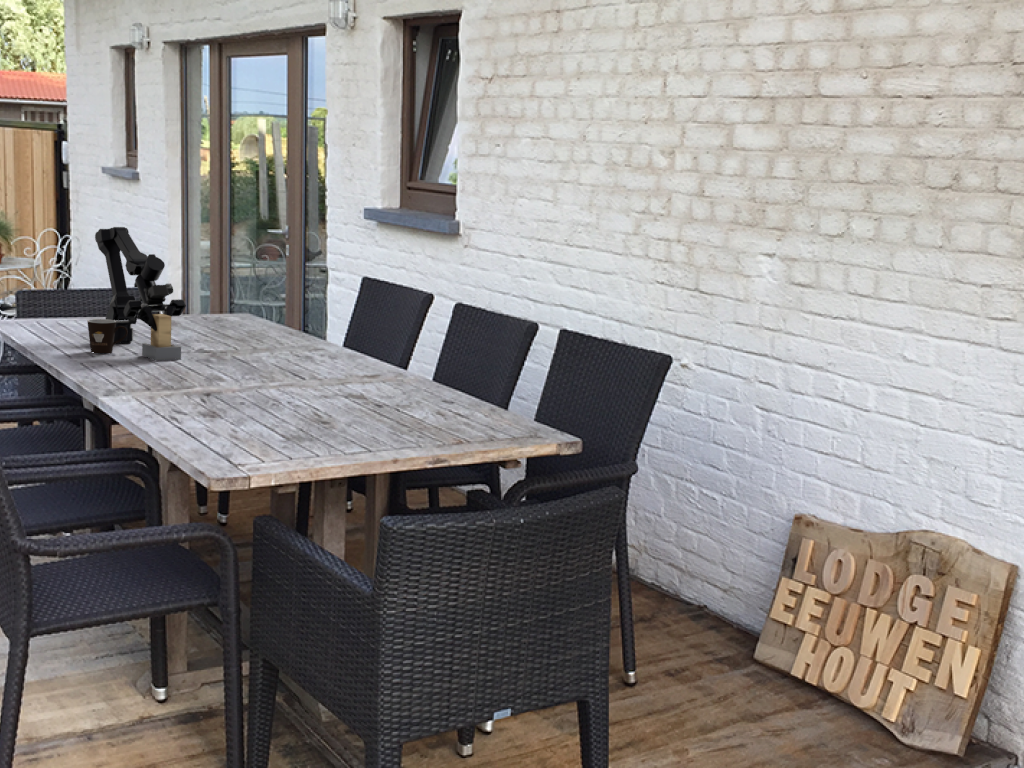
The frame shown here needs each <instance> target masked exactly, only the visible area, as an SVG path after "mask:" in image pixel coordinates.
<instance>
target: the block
mask: <svg viewBox="0 0 1024 768" xmlns="http://www.w3.org/2000/svg"><path fill="white" fill-rule="evenodd" d="M152 315H153V318H154V320H155V323H156V326H157V331H155V330H153V329H152V328H151V327H150V345H153V346H155V347H171V343H172V316H169V315H166V314H163V313H152Z"/></svg>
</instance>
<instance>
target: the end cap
mask: <svg viewBox="0 0 1024 768" xmlns="http://www.w3.org/2000/svg"><path fill="white" fill-rule="evenodd" d="M141 344H142V345H141V349H142V350H141V356H142V357H144V356H145V357H144V358H147V357H148V358H147V359H149V358H150V359H149V360H152V361H155V362H159V361H160V360H162V361H173V360H174V361H175V360H176V361H177V359H179V360H182V346H180V345H176V344H174V343H172V342H171V347H155V346H153V345H151V343H147V342H142V343H141Z"/></svg>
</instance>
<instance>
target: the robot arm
mask: <svg viewBox="0 0 1024 768" xmlns="http://www.w3.org/2000/svg"><path fill="white" fill-rule="evenodd" d="M94 239H95V240H94V241H95V242H96V244H97V247H98V250H99V252H101V253H102V254H103V255H104V257H105V263H106V267H107V272H108V277H109V282H110V287H111V288H110V289H111V294H112V297H111V301H110V303H109V309H108V312H107V313H106V316H105V319H108V320H114V321H116V327H118V326H124V327H125V328H127V331H128V334H127V336H126V337H125V338H124V339H123V340H121V341H119V342H118V343H117V344H131V343H132V342H133V340H134V328H133V327H132V325H136V324H137V320H140V321H142V322H143V323H144V324H147V326H148V327H150V329H151V328H152V329H153V330H155V331H157V326H156V323H155V320H154V318H153V315H152V314H153V312H162V313H161V314H166V315H169V316H171V317H180V316H181V315H182V314H183V312H184V310H185V309H186V307H187V304H186V302H185V299H171V300H170V302H169V304H167V303H164V302H165V301H166V300H167V299H166V297H167V296H169V295H171V294H173V293H174V288H173V285H172V283H165V284H157V283H156V282H157V281H159V278H160V277H161V275H162V272H163V270H164V269H165V267H166V266H165V265H166V264H165V262H164V261H163V260H162V259H161V258H159V257H157V256H156V253H155V254H154V253H153V254H148V255H147V254H146V253H143V252H142V251H140V250H139V248H138V247H137V244H136V243H135V242H134V239H132V236H131V235H130V232H129V229H128V227H125V226H113V227H110V228H99V229H98V231H96V232H95V235H94ZM121 253H122V255H123V256H124V258H125V260H126V261H125V270H126V272H128V274H129V276H135V277H136V278H135V280H134V281H135V282H134V284H133V288H137V289H138V293H139V298H138V300H137V299H136V297H135V296H134V295H130V294H129V292H128V288H127V281H126V278H125V272H124V268H123V263H122V262H123V261H122V257H121ZM125 335H126V331H125V329H123V328H118V329H117V330H116V332H115V335H114V342H116V341H118V340H120V339H121V338H123V337H124V336H125Z"/></svg>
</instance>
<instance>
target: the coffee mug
mask: <svg viewBox="0 0 1024 768" xmlns="http://www.w3.org/2000/svg"><path fill="white" fill-rule="evenodd" d="M118 328H123V329H125V331H126V335H125V336H124V337H123V338H121V339H120V340H118V341H116V342H114V335H115V332H116V330H117V329H118ZM87 329H88V331H87V332H88V338H89V347H90V348H89V349H90V353H91V352H94V353H110V354H113V349H114V348H113V347H114V346H115V345H116V344H119V343H118V342H119V341H121V340H123V339H124V338H125V337H126V336H127V334H128V331H127V328H125V327H124V326H118V327H116V321H115V320H108V319H106V318H96V319H92V318H91V319H88V320H87ZM94 353H93V354H94Z"/></svg>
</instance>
